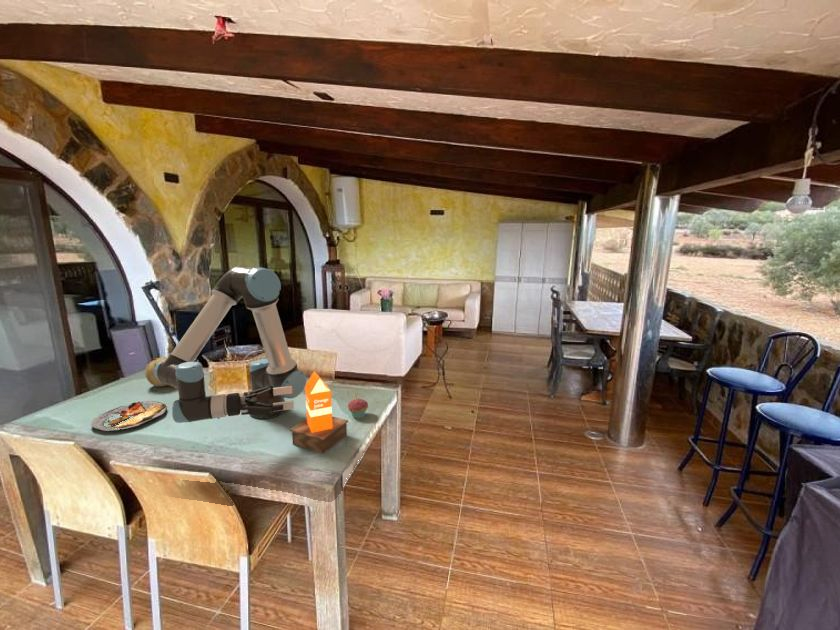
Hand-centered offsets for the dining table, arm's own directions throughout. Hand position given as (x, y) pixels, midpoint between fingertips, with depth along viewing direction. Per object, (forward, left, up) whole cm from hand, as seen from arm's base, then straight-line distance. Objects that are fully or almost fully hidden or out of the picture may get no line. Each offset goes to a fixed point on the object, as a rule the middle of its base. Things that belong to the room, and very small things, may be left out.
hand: (292, 396), depth 137 cm
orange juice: (+6, +6, -13) cm, 15 cm away
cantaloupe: (-98, +13, -19) cm, 101 cm away
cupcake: (+8, +29, -19) cm, 35 cm away
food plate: (-75, -15, -19) cm, 79 cm away
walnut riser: (+6, +6, -19) cm, 21 cm away
